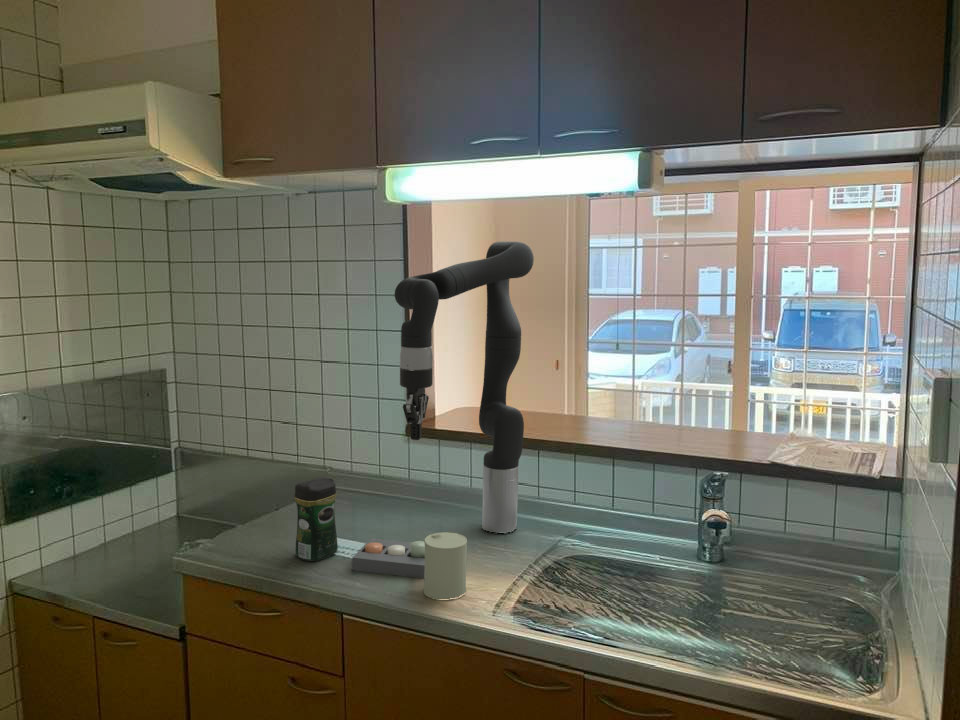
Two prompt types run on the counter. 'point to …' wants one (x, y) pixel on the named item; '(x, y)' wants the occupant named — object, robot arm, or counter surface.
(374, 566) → the button panel
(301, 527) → the coffee jar
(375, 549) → the terracotta button
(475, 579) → the counter surface
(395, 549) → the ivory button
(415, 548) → the sage button
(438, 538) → the can
